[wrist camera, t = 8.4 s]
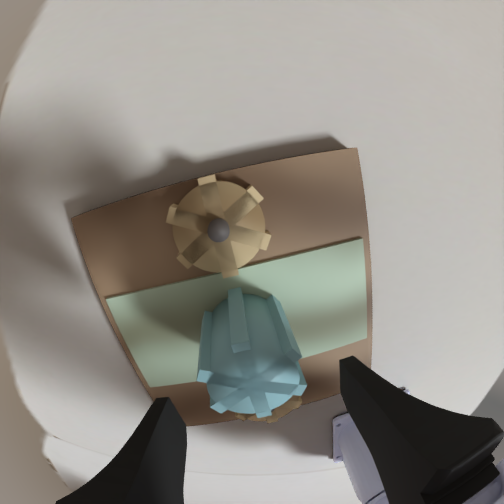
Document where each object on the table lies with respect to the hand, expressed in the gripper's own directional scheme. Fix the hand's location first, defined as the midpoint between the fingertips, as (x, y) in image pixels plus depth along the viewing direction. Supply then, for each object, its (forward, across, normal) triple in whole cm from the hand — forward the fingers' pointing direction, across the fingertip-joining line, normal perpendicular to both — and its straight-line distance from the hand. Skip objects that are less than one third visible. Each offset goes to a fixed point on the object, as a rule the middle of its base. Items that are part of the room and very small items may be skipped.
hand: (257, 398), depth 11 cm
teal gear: (+6, 0, 0) cm, 6 cm away
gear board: (+7, 0, 0) cm, 7 cm away
